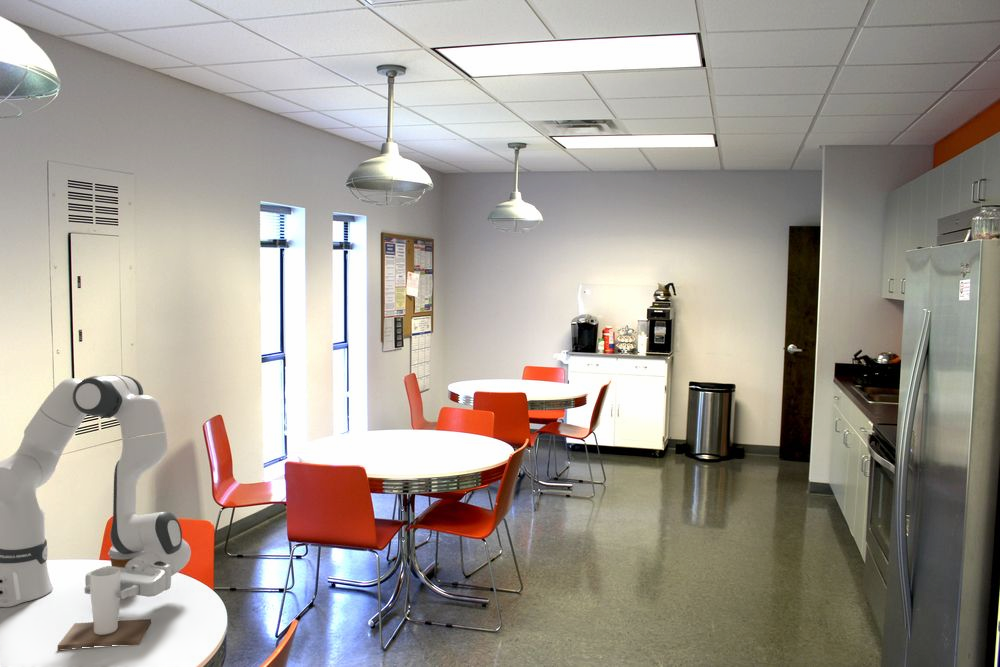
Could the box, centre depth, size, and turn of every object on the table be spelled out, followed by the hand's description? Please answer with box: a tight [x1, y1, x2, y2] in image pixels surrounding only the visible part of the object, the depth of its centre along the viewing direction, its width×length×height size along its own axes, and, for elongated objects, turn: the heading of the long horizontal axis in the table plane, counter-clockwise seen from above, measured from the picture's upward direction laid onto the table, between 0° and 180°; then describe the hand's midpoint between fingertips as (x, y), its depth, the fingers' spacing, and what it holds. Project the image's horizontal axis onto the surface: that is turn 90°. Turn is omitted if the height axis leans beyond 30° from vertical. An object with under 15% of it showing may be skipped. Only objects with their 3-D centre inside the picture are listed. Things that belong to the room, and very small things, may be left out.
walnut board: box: [57, 618, 152, 651], centre depth 191 cm, size 18×12×1 cm, turn 101°
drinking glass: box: [89, 566, 121, 635], centre depth 190 cm, size 7×7×15 cm
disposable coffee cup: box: [107, 545, 144, 568], centre depth 220 cm, size 10×10×12 cm
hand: (103, 593), depth 189 cm, fingers open, 8 cm apart
